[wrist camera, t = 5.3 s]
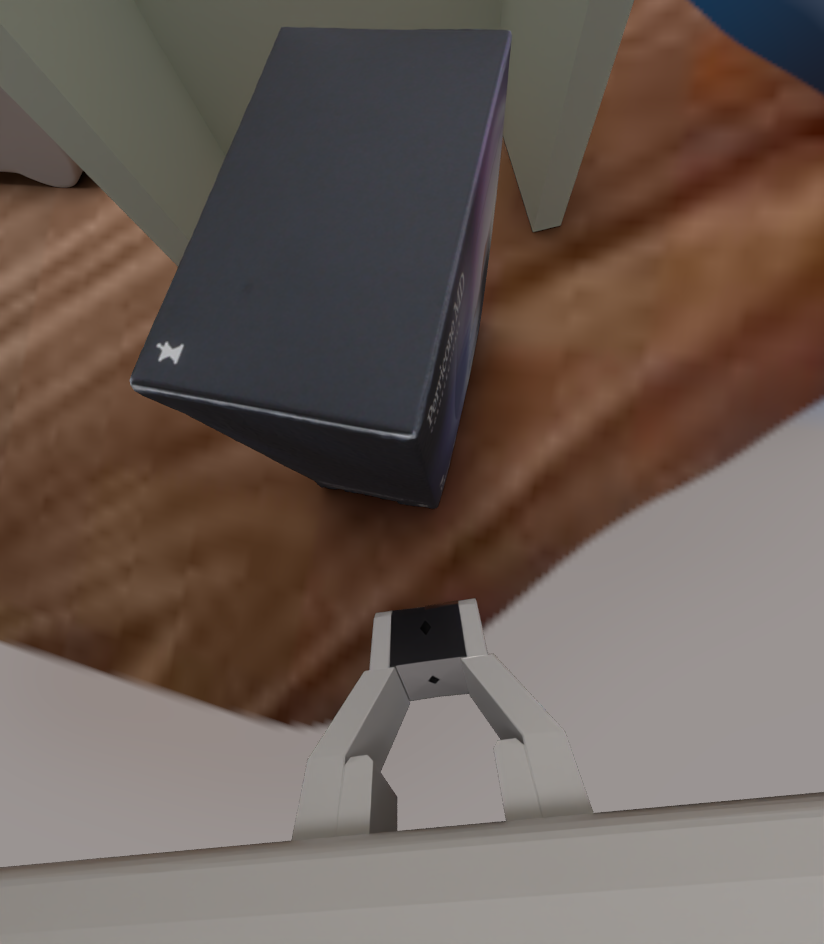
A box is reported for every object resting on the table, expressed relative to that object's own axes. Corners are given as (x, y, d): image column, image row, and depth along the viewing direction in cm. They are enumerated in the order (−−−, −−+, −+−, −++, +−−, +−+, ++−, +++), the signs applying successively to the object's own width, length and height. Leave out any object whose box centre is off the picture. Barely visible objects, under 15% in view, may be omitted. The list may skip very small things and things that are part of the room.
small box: (446, 514, 16) (428, 454, 5) (317, 487, 17) (104, 394, 7) (486, 317, 18) (528, 4, 7) (369, 305, 19) (267, 16, 9)
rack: (219, 308, 20) (-171, -87, 8) (215, 165, 23) (-75, -297, 10) (560, 225, 18) (785, -465, 6) (512, 81, 21) (594, -596, 9)
